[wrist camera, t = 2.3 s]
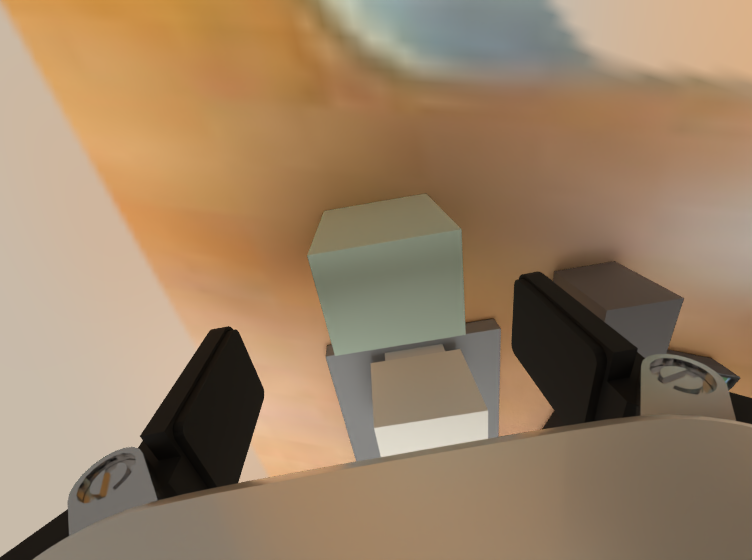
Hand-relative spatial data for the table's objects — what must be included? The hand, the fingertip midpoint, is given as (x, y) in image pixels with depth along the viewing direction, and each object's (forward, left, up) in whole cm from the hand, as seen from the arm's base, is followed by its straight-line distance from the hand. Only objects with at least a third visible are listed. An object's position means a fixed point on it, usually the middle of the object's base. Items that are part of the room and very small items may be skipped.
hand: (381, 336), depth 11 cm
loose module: (-1, 0, -10) cm, 10 cm away
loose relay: (-14, +6, -10) cm, 18 cm away
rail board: (-2, +16, -10) cm, 19 cm away
